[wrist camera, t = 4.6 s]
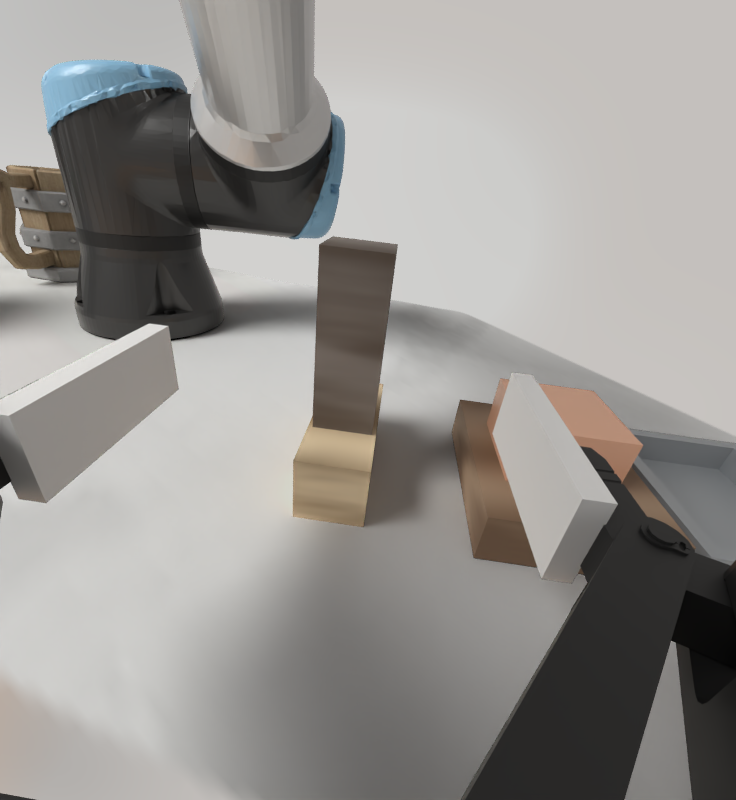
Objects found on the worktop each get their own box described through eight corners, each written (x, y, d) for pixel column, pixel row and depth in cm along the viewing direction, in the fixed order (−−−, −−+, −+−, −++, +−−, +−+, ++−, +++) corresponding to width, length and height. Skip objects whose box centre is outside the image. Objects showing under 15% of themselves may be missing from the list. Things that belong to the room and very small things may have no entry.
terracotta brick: (486, 423, 26) (500, 378, 25) (573, 435, 26) (593, 391, 24) (505, 480, 21) (524, 429, 19) (614, 496, 21) (643, 445, 19)
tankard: (79, 260, 66) (53, 159, 59) (145, 271, 65) (127, 168, 57) (-51, 284, 49) (-111, 145, 42) (35, 298, 48) (-11, 157, 40)
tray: (589, 451, 30) (602, 425, 29) (718, 469, 30) (736, 443, 29) (685, 589, 20) (711, 557, 18) (885, 619, 19) (925, 589, 18)
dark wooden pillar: (326, 422, 30) (338, 230, 23) (377, 429, 30) (403, 238, 23) (292, 516, 21) (295, 254, 14) (363, 527, 21) (399, 267, 14)
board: (451, 432, 31) (460, 399, 29) (577, 449, 30) (591, 417, 29) (473, 557, 20) (488, 517, 19) (665, 586, 20) (696, 547, 18)
